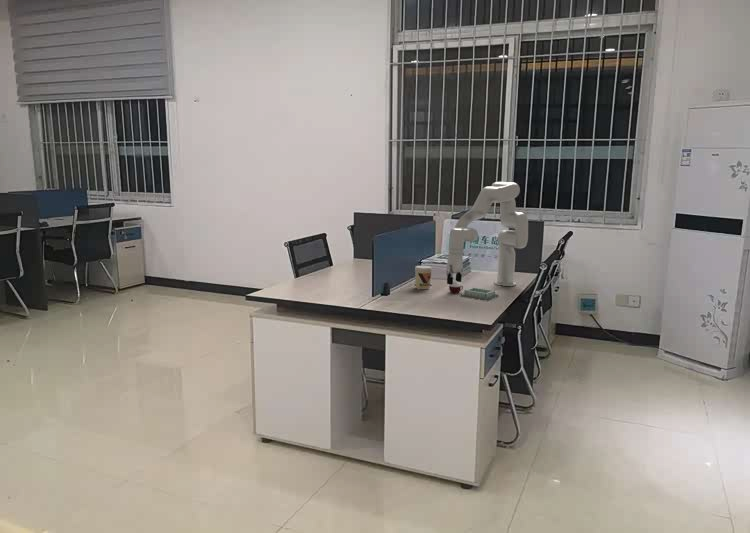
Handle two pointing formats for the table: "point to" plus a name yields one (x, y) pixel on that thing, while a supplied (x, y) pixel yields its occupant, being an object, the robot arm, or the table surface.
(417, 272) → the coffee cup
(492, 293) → the holder board
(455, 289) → the cocoa
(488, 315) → the table surface
